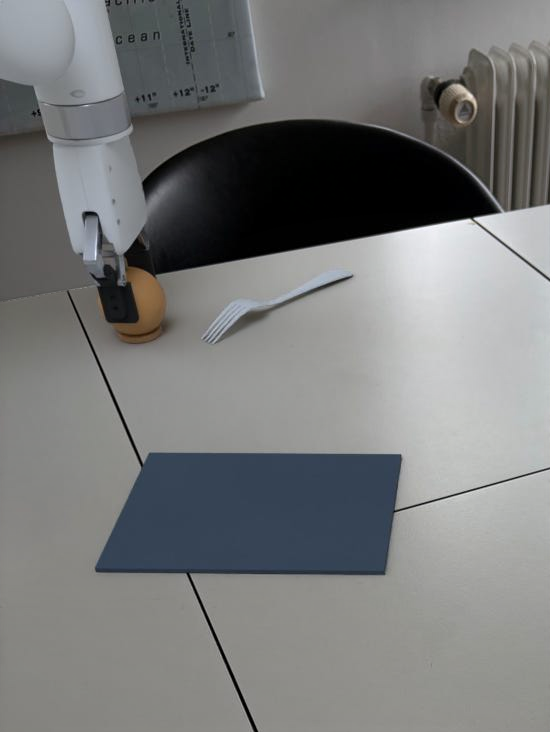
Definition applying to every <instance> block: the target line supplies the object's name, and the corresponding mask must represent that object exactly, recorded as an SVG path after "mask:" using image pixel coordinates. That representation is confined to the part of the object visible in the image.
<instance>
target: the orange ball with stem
mask: <svg viewBox="0 0 550 732" xmlns="http://www.w3.org/2000/svg"><path fill="white" fill-rule="evenodd" d="M124 263H125V274H126V282H131V286H132V290H133V294H134V298H135V302H136V306H137V310H138V314H139V320H138V322H137V323H108V325H109V326H111V327H112V328H113V329H115V330H116V332H117V336H118V339H119V340H121V341H122V342H124V343H127V344H143V343H148V342H151V341H153V340H156V339H157V338H158V337H160V336H161V335H162V332H163V328H162V325H161V323H162V322H163V320H164V317H165V315H166V311H167V297H166V294H165V291H164V288H163V287H162V285H161V283H160V282H159V280H158V278H157V277H156V278H157V279H156V278H155V277H153V276H152V275H151V274H150V273H148V272H146V271H144V270H142V269H139V268H136V267H128V264H127V260H126V258H125V257H124ZM114 270H115V269H114ZM115 271H116V270H115ZM97 304H98V308H99V311H100V313H101V315H102V317H103V318H104V320H105V321H106V319H105V315H104V311H103V308H102V304H101V300H100V296H99V293H98V292H97Z"/></svg>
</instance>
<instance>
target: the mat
mask: <svg viewBox="0 0 550 732" xmlns="http://www.w3.org/2000/svg"><path fill="white" fill-rule="evenodd" d="M402 459H403V455H402V453H307V452H306V453H302V452H301V453H297V452H296V453H292V452H290V453H289V452H288V453H286V452H285V453H284V452H282V453H281V452H280V453H279V452H151V451H150V452H148V454H147V456H146V458H145V460H144V463H143V465H142V467H141V469H140V471H139V473H138V475H137V477H136V479H135V481H134V484H133V486H132V488H131V490H130V492H129V494H128V497H127V498H126V501H125V503H124V505H123V507H122V509H121V511H120V513H119V515H118V518H117V519H116V522H115V524H114V526H113V528H112V530H111V533H110V534H109V536H108V538H107V541H106V543H105V545H104V547H103V549H102V552H101V554H100V556H99V558H98V560H97V562H96V564H95V566H94V571H95V572H96V573H162V574H163V573H164V574H165V573H167V574H169V573H171V574H172V573H173V574H174V573H176V574H177V573H179V574H181V573H183V574H273V575H274V574H279V575H280V574H282V575H283V574H284V575H286V574H287V575H289V574H291V575H293V574H294V575H306V574H307V575H383V576H384V575H386V569H387V562H388V555H389V549H390V540H391V534H392V526H393V520H394V515H395V506H396V500H397V494H398V493H397V492H398V486H399V478H400V472H401V465H402Z"/></svg>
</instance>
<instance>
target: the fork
mask: <svg viewBox="0 0 550 732" xmlns="http://www.w3.org/2000/svg"><path fill="white" fill-rule="evenodd" d="M353 275H354V274H353V272H351V271H350V270H349V271H348V270H346V269H342V268H334V269H331V270H326V271H325V272H323V273H321V274H319V275H317V276H316V277H313V278H311V280H309V281H306V282H305V283H304V284H301V285H300V286H298V287H297V288H295V289H293V290H292V291H289V292H288V293H285V294H284V295H281V296H279V297H276V298H275V299H272V300H269V301H259V300H254V299H250V298H238V299H236V300H233V301H232V302H231V303H230V304H229V305H227V306H226V307H225V308H224V309H223V310H222V311H221V312H220V314H219V315H218V316H217V317H216V318H215V319H214V320H213V322H212V323H211V324H210V325H209V327H208V328H207V330H206V331H205V333H203V335H202V337H201V339H200V340H203V339H204V338H205V339H204V342H207V343H208V344H209V343H211V345H214V344H215V343H216V342H217V341H218V340H219V339H220V338H221V337H222V336H223V335H224V334H225V332H226V331H228V330H229V328H231V327H232V326H233V325H234V324H235V322H237V321H238V320H239V319H240V318H241V317H242V316H244V315H245V314H247V312H249V311H250V310H252V309H255V308H260V307H262V308H263V307H267V306H274V305H278V304H281V303H284V302H286V301H288V300H291V299H294V297H297V296H299V295H302V294H304V293H307V292H309V291H312V290H314V289H317V288H319V287H322V286H325V285H328V284H330V283H333V282H336V281H339V280H341V279H345V278H348V277H352V276H353ZM210 331H211V332H210ZM212 340H213V341H212ZM211 341H212V342H211Z"/></svg>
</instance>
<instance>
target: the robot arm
mask: <svg viewBox="0 0 550 732" xmlns="http://www.w3.org/2000/svg"><path fill="white" fill-rule="evenodd" d="M111 27H112V26H111V23H110V19H109V14H108V9H107V5H106V0H0V80H4V81H8V82H12V83H15V84H20V85H24V86H33V89H34V93H35V97H36V101H37V104H38V108H39V112H40V115H41V119H42V122H43V126H44V130H45V133H46V136H47V140H48V141H49V142H51V143H53V144H52V153H53V162H54V163H53V164H54V169H55V176H56V182H57V188H58V192H59V197H60V202H61V206H62V211H63V214H64V220H65V224H66V227H67V232H68V237H69V241H70V244H71V248H72V250H73V252H74V253H75V255H77V256H83V259H82V260H83V261H82V262H83V266H84V267H85V269H87V271H88V272H89V275H90V276H91V278H92V279H93V284H94V285H95V287H96V288H97V294H98V293H99V296H100V300H101V304H102V308H103V311H104V315H105V319H106V320H105V319H104V320H105V321H106V322H107V324H109V323H137V322H138V320H139V314H138V310H137V306H136V302H135V298H134V294H133V290H132V286H131V282H126V274H125V263H124V257H125V258H126V260H127V264H128V267H136V268H139V269H142V270H144V271H146V272H148V273H150V274H151V275H152V276H153V277H155V278H156V279H157V280H158V278H157V274H156V270H155V266H154V260H153V257H152V252H151V250H150V239H149V238H148V235H147V232H146V229H145V227H146V226H147V224H146V223H147V221H148V220H147V219H148V208H147V202H146V197H145V191H144V188H143V187H144V186H143V183H142V179H141V174H140V171H139V167H138V164H137V160H136V156H135V153H134V150H133V149H134V148H133V146H132V143H131V139H130V135H131V134H132V133H133V131H134V126H133V123H132V117H131V114H130V110H129V104H128V100H127V97H126V91H125V88H124V87H125V86H124V83H123V78H122V73H121V69H120V63H119V60H118V54H117V51H116V45H115V41H114V36H113V32H112V28H111ZM103 245H113V248H114V249H113V250H103ZM105 259H113V260H114V267H113V266H112V265H111V264H109V263H105V262H106V261H105ZM115 270H116V271H115Z"/></svg>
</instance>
